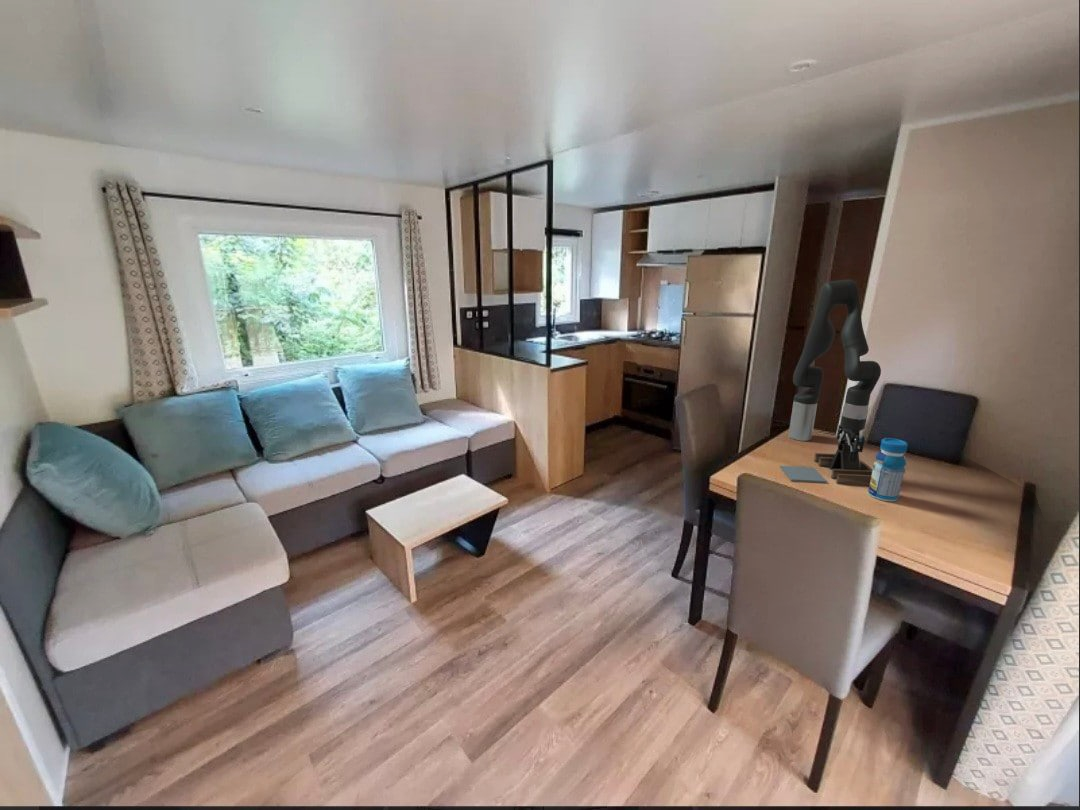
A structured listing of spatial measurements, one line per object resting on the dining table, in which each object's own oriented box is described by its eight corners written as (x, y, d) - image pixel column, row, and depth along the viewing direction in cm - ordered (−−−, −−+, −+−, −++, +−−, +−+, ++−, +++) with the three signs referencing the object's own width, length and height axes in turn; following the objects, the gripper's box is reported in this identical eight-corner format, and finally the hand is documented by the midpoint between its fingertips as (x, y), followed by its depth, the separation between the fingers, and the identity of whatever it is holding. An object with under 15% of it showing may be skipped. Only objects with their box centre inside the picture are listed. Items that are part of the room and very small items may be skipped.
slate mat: (779, 467, 172) (779, 465, 172) (812, 469, 170) (813, 467, 170) (791, 481, 161) (791, 479, 160) (826, 483, 159) (827, 481, 158)
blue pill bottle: (887, 504, 144) (900, 447, 138) (861, 493, 151) (872, 439, 145) (904, 499, 147) (917, 443, 141) (877, 488, 154) (889, 435, 148)
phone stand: (828, 467, 171) (833, 439, 167) (843, 467, 171) (848, 438, 167) (843, 478, 162) (849, 448, 159) (860, 477, 162) (866, 447, 159)
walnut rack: (813, 461, 177) (815, 453, 176) (852, 462, 175) (853, 454, 174) (837, 483, 158) (839, 474, 157) (880, 485, 156) (882, 476, 155)
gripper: (834, 409, 167) (827, 448, 172) (852, 420, 154) (844, 463, 158) (855, 409, 166) (848, 449, 170) (876, 421, 152) (867, 464, 157)
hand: (846, 456), depth 164 cm, fingers open, 8 cm apart
